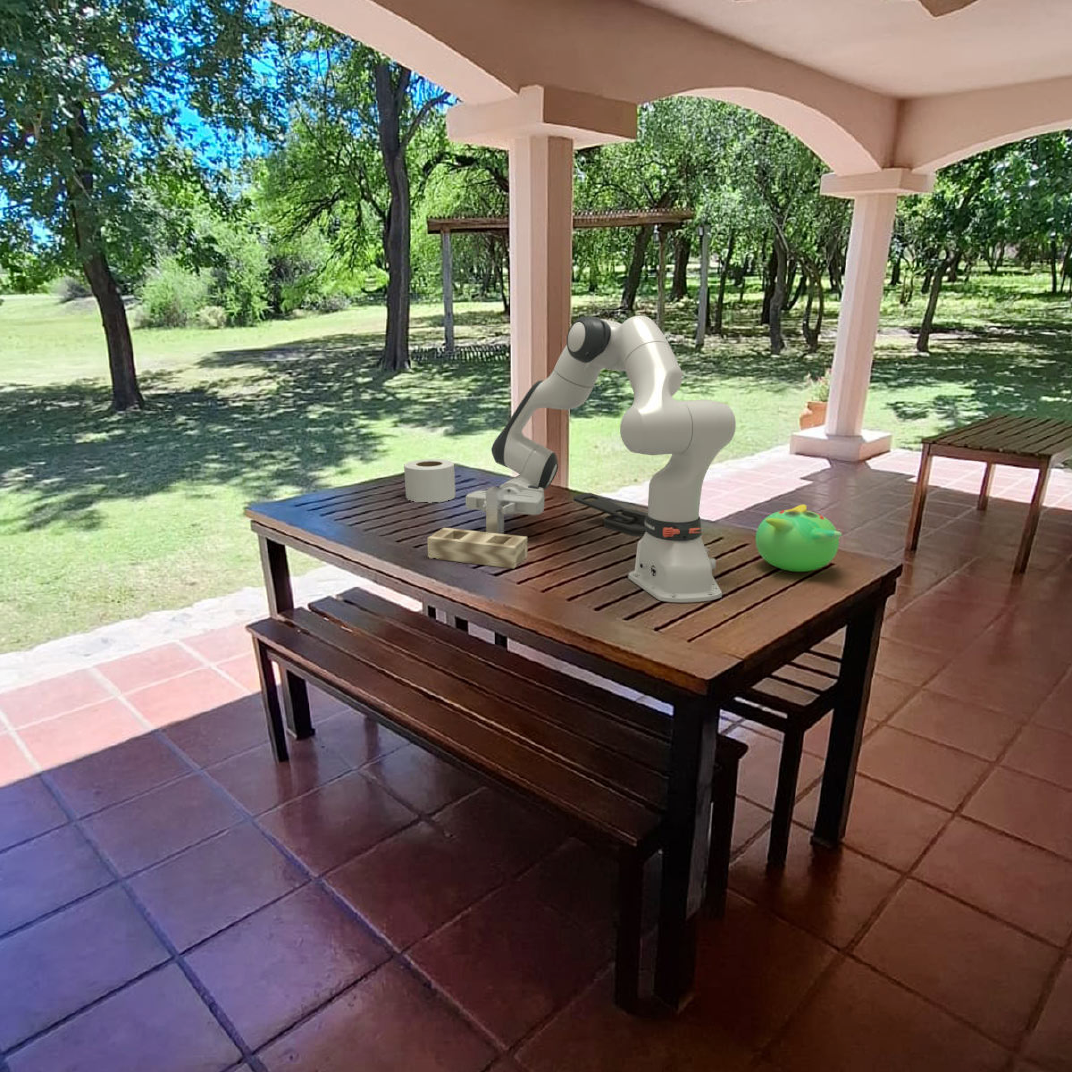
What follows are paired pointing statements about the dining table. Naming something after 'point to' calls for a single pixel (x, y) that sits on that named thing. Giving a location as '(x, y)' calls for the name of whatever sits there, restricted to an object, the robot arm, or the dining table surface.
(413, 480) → the toilet paper roll
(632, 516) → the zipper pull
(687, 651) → the dining table surface
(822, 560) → the toy bird
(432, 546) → the hollow cinder block
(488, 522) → the grey square pillar
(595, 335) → the robot arm
